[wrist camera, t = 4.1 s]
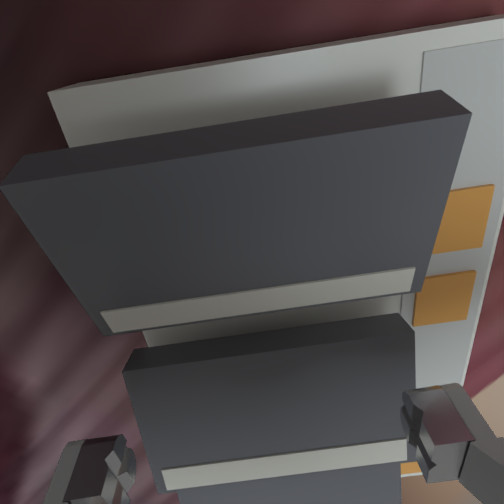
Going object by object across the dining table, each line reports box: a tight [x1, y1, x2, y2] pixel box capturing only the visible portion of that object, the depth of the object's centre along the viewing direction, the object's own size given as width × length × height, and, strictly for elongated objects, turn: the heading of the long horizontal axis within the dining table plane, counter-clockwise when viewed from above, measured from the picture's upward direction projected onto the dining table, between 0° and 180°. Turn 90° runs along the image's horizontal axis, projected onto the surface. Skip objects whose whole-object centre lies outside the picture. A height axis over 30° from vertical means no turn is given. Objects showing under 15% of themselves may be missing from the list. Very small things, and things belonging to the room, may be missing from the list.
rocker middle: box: [122, 313, 417, 494], centre depth 14 cm, size 6×10×2 cm, turn 98°
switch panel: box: [47, 14, 504, 477], centre depth 16 cm, size 23×14×4 cm, turn 8°
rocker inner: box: [0, 90, 472, 336], centre depth 10 cm, size 6×10×2 cm, turn 98°
